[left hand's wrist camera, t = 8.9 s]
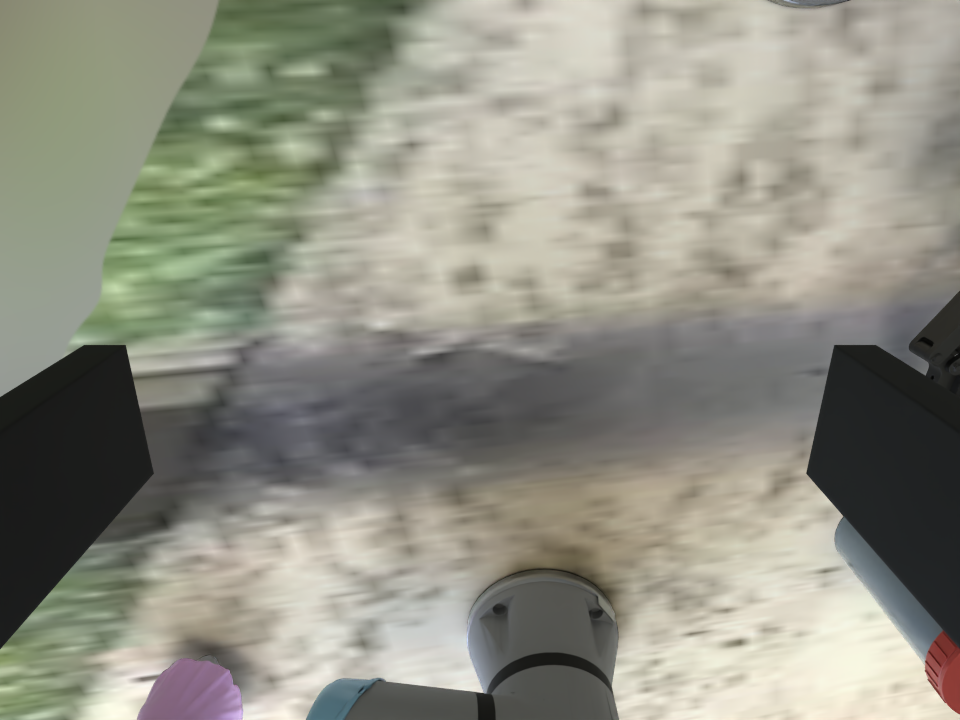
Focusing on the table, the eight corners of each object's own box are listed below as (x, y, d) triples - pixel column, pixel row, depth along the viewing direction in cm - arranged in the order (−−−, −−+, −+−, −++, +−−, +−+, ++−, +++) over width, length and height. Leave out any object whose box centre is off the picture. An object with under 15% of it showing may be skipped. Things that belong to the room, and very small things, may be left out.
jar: (847, 579, 64) (956, 725, 50) (824, 515, 61) (932, 650, 47) (934, 548, 63) (1073, 689, 48) (915, 481, 60) (1057, 609, 45)
